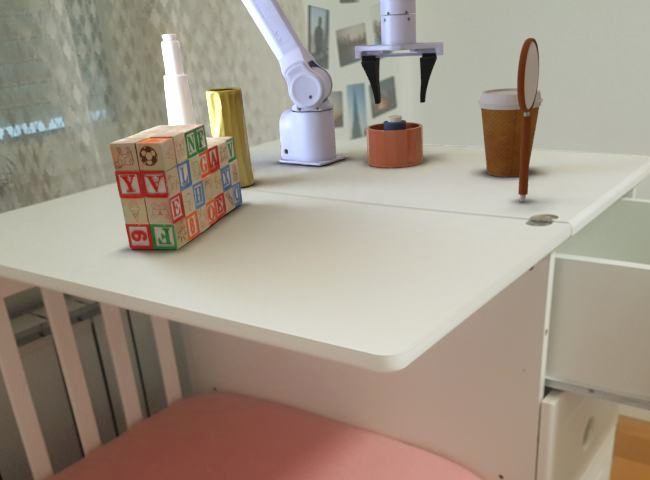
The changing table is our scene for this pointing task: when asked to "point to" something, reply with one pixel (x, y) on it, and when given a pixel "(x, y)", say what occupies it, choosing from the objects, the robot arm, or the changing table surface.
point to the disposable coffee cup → (504, 129)
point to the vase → (231, 126)
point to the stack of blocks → (174, 183)
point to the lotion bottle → (394, 123)
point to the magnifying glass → (526, 105)
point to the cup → (394, 146)
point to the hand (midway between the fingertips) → (400, 102)
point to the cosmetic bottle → (176, 84)
